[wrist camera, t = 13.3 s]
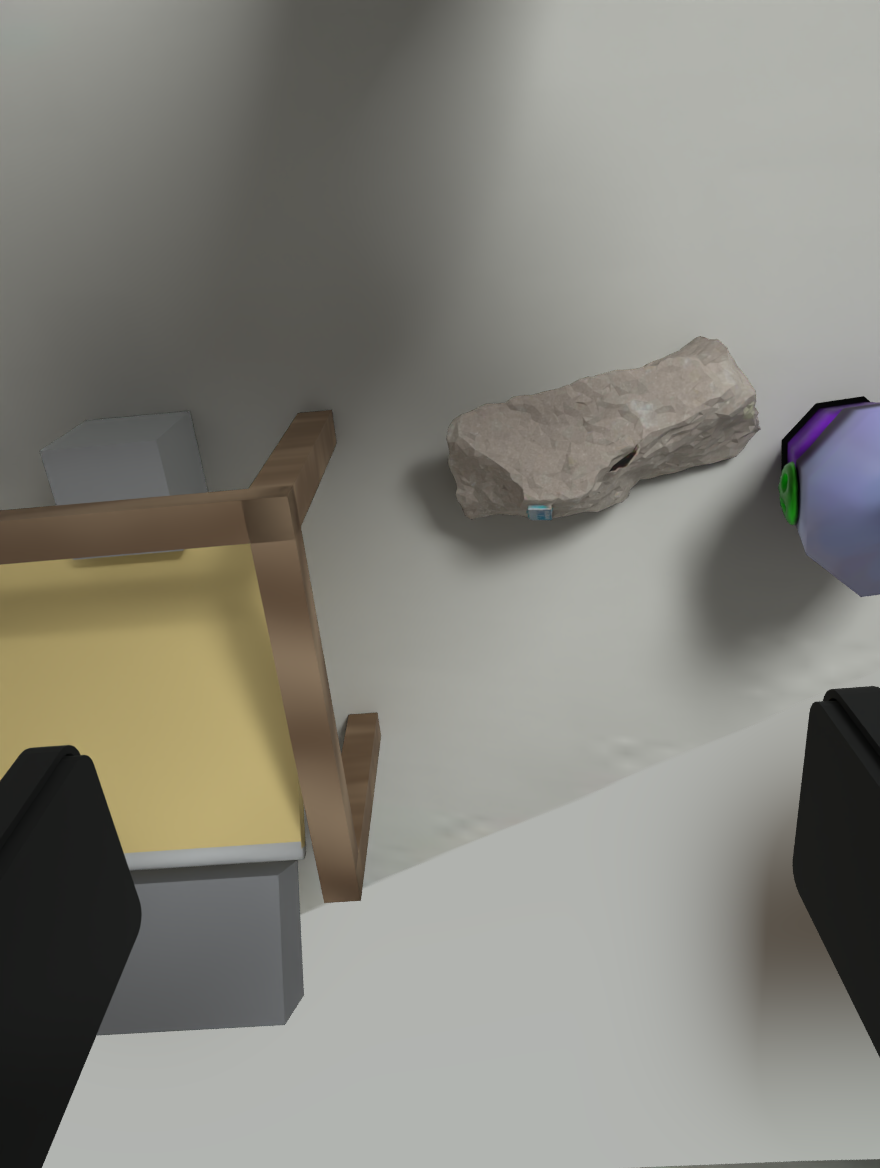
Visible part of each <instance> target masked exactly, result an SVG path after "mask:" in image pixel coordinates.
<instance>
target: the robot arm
mask: <svg viewBox="0 0 880 1168" xmlns="http://www.w3.org/2000/svg"><path fill="white" fill-rule="evenodd" d="M793 874H794V880H795V883H796V887H797V889H798V892H799V894H800V896H801V898H802V900H803V902H804V904H805V906H806V909H807V911H808V912H809V915H810V917H811V918H812V921H813V923H814V925H815V927H816V929H817V931H818V933H819V935H820V937H821V939H822V941H823V943H824V945H825V947H826V949H827V951H828V953H829V955H830V957H831V959H832V961H833V963H834V965H835V967H836V969H837V971H838V974H839V976H840V977H841V979H842V982H843V984H844V986H845V987H846V990H847V992H848V994H849V996H850V998H851V1000H852V1002H853V1004H854V1006H855V1008H856V1010H857V1012H858V1014H859V1016H860V1018H861V1020H862V1022H863V1024H864V1026H865V1028H866V1030H867V1032H868V1034H869V1036H870V1038H871V1040H872V1043H873V1045H874V1046H875V1049H876V1051H877V1053H878V1055H879V1056H880V688H879V687H875V686H869V687H856V688H842V689H830V690H829V691H827V692H826V694H825V696H824V699H823V701H822V702H814V703H813V704H812V706H811V708H810V713H809V722H808V731H807V739H806V749H805V758H804V766H803V775H802V783H801V792H800V801H799V810H798V819H797V828H796V837H795V845H794V854H793ZM141 917H142V911H141V904H140V900H139V897H138V894H137V891H136V888H135V885H134V882H133V879H132V876H131V873H130V870H129V867H128V864H127V861H126V858H125V855H124V852H123V849H122V846H121V843H120V840H119V837H118V834H117V831H116V828H115V825H114V822H113V819H112V816H111V813H110V810H109V808H108V805H107V802H106V799H105V796H104V793H103V790H102V787H101V784H100V781H99V778H98V775H97V772H96V769H95V766H94V763H93V761H92V759H91V758H90V757H89V756H87V755H80V753H79V751H78V750H77V749H76V747H75V746H72V745H61V746H47V747H34V748H28V749H25V750H24V751H23V752H22V753H21V754H20V755H19V756H18V758H17V759H16V760H15V762H14V763H13V764H12V766H11V767H10V768H9V770H8V771H7V772H6V774H5V775H4V776H3V778H2V779H1V780H0V1168H42V1166H43V1163H44V1161H45V1159H46V1156H47V1154H48V1151H49V1149H50V1146H51V1144H52V1141H53V1139H54V1137H55V1134H56V1132H57V1130H58V1127H59V1125H60V1122H61V1120H62V1117H63V1115H64V1113H65V1110H66V1108H67V1105H68V1103H69V1100H70V1098H71V1095H72V1093H73V1091H74V1088H75V1086H76V1084H77V1081H78V1079H79V1076H80V1074H81V1071H82V1069H83V1067H84V1064H85V1062H86V1059H87V1057H88V1054H89V1052H90V1049H91V1047H92V1045H93V1042H94V1040H95V1037H96V1035H97V1033H98V1030H99V1028H100V1025H101V1023H102V1021H103V1018H104V1016H105V1013H106V1011H107V1008H108V1006H109V1004H110V1001H111V999H112V996H113V994H114V992H115V989H116V987H117V984H118V982H119V979H120V977H121V975H122V972H123V970H124V967H125V965H126V962H127V960H128V958H129V955H130V953H131V950H132V948H133V945H134V943H135V941H136V938H137V936H138V933H139V930H140V926H141ZM642 1168H880V1159H871V1160H870V1159H867V1160H827V1161H826V1160H824V1161H791V1162H765V1163H742V1164H741V1163H740V1164H716V1165H692V1166H668V1167H667V1166H666V1167H642Z"/></svg>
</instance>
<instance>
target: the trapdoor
mask: <svg viewBox="0 0 880 1168" xmlns="http://www.w3.org/2000/svg"><path fill="white" fill-rule="evenodd" d="M61 745H72V746H75V747H76V749H77V750H78V751H79V753H80V755H87V756H89V757H90V758H91V759H92V761H93V763H94V766H95V769H96V772H97V775H98V778H99V781H100V784H101V787H102V790H103V793H104V796H105V799H106V802H107V805H108V808H109V810H110V813H111V816H112V819H113V822H114V825H115V828H116V831H117V834H118V837H119V840H120V843H121V846H122V849H123V852H124V855H125V858H126V861H127V864H128V867H129V870H130V873H131V876H132V879H133V882H134V885H135V888H136V891H137V894H138V897H139V900H140V904H141V911H142V917H141V926H140V930H139V933H138V936H137V938H136V941H135V943H134V945H133V948H132V950H131V953H130V955H129V958H128V960H127V962H126V965H125V967H124V970H123V972H122V975H121V977H120V979H119V982H118V984H117V987H116V989H115V992H114V994H113V996H112V999H111V1001H110V1004H109V1006H108V1008H107V1011H106V1013H105V1016H104V1018H103V1021H102V1023H101V1025H100V1028H99V1030H98V1033H97V1035H110V1034H111V1035H112V1034H129V1033H147V1032H165V1031H183V1030H200V1029H219V1028H236V1027H255V1026H273V1025H285V1024H286V1022H287V1020H288V1019H289V1018H290V1016H291V1014H292V1013H293V1011H294V1010H295V1008H296V1007H297V1005H298V1003H299V1002H300V1000H301V999H302V997H303V996H304V988H303V969H302V946H301V924H300V903H299V881H298V860H299V859H304V858H305V855H306V841H305V826H304V805H303V797H302V793H301V788H300V783H299V778H298V773H297V768H296V764H295V759H294V754H293V749H292V744H291V739H290V735H289V730H288V725H287V720H286V715H285V711H284V706H283V701H282V696H281V691H280V686H279V682H278V677H277V672H276V667H275V662H274V657H273V653H272V648H271V643H270V638H269V633H268V628H267V624H266V619H265V614H264V609H263V604H262V600H261V595H260V590H259V585H258V580H257V575H256V571H255V566H254V561H253V556H252V551H251V546H250V544H240V545H228V546H216V547H204V548H192V549H184V550H183V551H172V552H160V553H148V554H137V555H125V556H113V557H101V558H89V559H77V560H73V559H61V560H49V561H38V562H26V563H14V564H2V565H0V780H1V779H2V778H3V776H4V775H5V774H6V772H7V771H8V770H9V768H10V767H11V766H12V764H13V763H14V762H15V760H16V759H17V758H18V756H19V755H20V754H21V753H22V752H23V751H24V750H25V749H28V748H34V747H47V746H61ZM284 860H286V861H284ZM269 861H271V862H269ZM253 862H256V863H253ZM238 863H240V864H238ZM223 864H225V865H223ZM207 865H210V866H207ZM192 866H194V867H192ZM177 867H179V868H177ZM162 868H164V869H162ZM146 869H148V870H146ZM131 870H133V871H131Z"/></svg>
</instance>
